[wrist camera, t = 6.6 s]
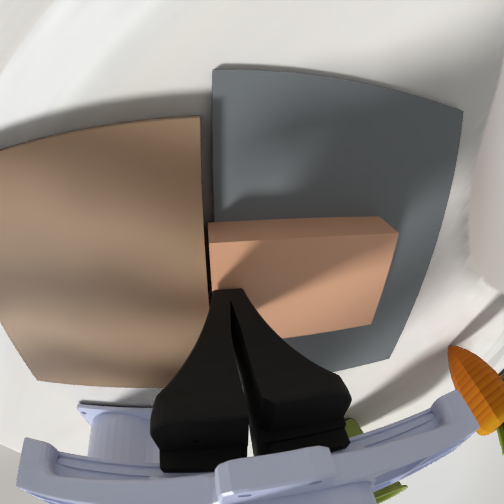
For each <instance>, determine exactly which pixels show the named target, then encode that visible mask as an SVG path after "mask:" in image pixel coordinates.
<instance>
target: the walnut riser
mask: <svg viewBox="0 0 504 504" xmlns="http://www.w3.org/2000/svg"><path fill="white" fill-rule="evenodd" d="M208 312H209V296H208V284H207V270H206V255H205V239H204V221H203V200H202V173H201V130H200V115H198V116H181V117H168V118H156V119H147V120H138V121H130V122H122V123H115V124H108V125H102V126H96V127H91V128H85V129H80V130H75V131H70V132H65V133H60V134H56V135H52V136H47V137H43V138H39V139H35V140H32V141H28V142H24V143H21V144H17V145H14V146H10V147H7V148H4V149H1V150H0V322H1V324H2V326H3V327H4V329H5V331H6V333H7V334H8V336H9V338H10V340H11V341H12V343H13V345H14V346H15V348H16V349H17V351H18V353H19V354H20V356H21V357H22V359H23V360H24V362H25V363H26V365H27V366H28V368H29V369H30V371H31V372H32V373H33V375H34V376H35V378H36V379H37V380H38V381H45V382H53V383H62V384H73V385H85V386H100V387H124V388H165V387H166V386H167V385H168V383H169V382H170V381H171V380H172V379H173V377H174V376H175V375H176V373H177V372H178V371H179V370H180V368H181V367H182V365H183V364H184V363H185V361H186V359H187V358H188V356H189V355H190V353H191V351H192V349H193V348H194V346H195V344H196V342H197V340H198V338H199V336H200V333H201V331H202V329H203V326H204V324H205V321H206V318H207V315H208Z"/></svg>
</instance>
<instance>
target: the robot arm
mask: <svg viewBox="0 0 504 504" xmlns="http://www.w3.org/2000/svg"><path fill="white" fill-rule="evenodd" d="M237 366H238V367H237ZM238 369H239V371H238ZM239 373H240V376H239ZM240 377H241V380H240ZM241 381H242V384H241ZM242 385H243V388H242ZM243 390H244V392H243ZM351 401H352V399H351V395H350V393H349V391H348V389H347V387H346V385H345V384H344V382H343V381H342V379H341V377H340V376H339V375H337V374H335V373H333V372H331V371H329V370H327V369H325V368H322V367H321V366H319V365H317V364H315V363H314V362H312V361H310V360H309V359H307V358H306V357H305V356H303V355H302V354H300V353H299V352H298V351H296V350H295V349H294V348H292V347H291V346H290V345H289V344H288V343H286V342H285V341H284V340H283V339H282V338H281V337H280V336H279V335H278V334H277V333H276V332H275V331H274V330H273V329H272V328H271V327H270V326H269V325H268V324H267V322H266V321H265V320H264V319H263V318H262V316H261V315H260V314H259V313H258V311H257V310H256V309H255V307H254V306H253V304H252V303H251V301H250V300H249V298H248V297H247V295H246V293H245V291H244V290H243V289H242V288H236V289H222V290H214V291H213V292H212V299H211V304H210V308H209V312H208V315H207V318H206V321H205V324H204V326H203V329H202V331H201V333H200V336H199V338H198V340H197V342H196V344H195V346H194V348H193V349H192V351H191V353H190V355H189V356H188V358H187V359H186V361H185V363H184V364H183V365H182V367H181V368H180V370H179V371H178V372H177V373H176V375H175V376H174V377H173V379H172V380H171V381H170V382H169V383H168V385H167V386H166V387H165V388H164V389H163V390H162V391H161V392H160V393H159V394H158V395H157V397H156V399H155V402H154V405H153V408H131V407H110V406H96V405H84V404H78V405H77V410H78V411H79V412H80V413H81V415H82V416H83V417H84V418H85V420H86V421H87V422H88V423H89V424H90V426H91V433H90V440H89V448H88V456H80V455H75V454H69V453H64V452H59V451H58V450H57V449H56V448H55V447H54V446H52V445H51V444H49V443H46V442H43V441H39V440H35V439H31V438H27V437H26V438H25V439H24V443H23V448H22V453H21V458H20V463H19V469H18V475H17V482H16V486H17V487H18V488H20V489H22V490H23V491H25V492H27V493H29V494H31V495H33V496H34V497H36V498H38V499H40V500H42V501H44V502H46V503H48V504H377V502H376V499H375V497H374V494H373V492H375V491H377V490H379V489H382V488H384V487H386V486H388V485H391V484H393V483H395V482H397V481H399V480H401V479H403V478H405V477H407V476H409V475H411V474H413V473H415V472H417V471H419V470H421V469H422V468H424V467H426V466H428V465H429V464H432V463H433V462H435V461H437V460H439V459H440V458H442V457H444V456H445V455H447V454H449V453H451V452H452V451H454V450H455V449H456V448H457V447H458V446H460V445H461V444H462V443H463V442H464V441H466V440H467V439H468V438H469V437H470V436H471V435H472V434H473V433H475V432H476V431H477V430H478V429H479V428H480V425H479V424H478V422H477V420H476V418H475V417H474V415H473V413H472V412H471V410H470V409H469V407H468V405H467V404H466V402H465V400H464V399H463V397H462V396H461V394H460V393H459V391H458V390H457V389H456V390H454V391H452V392H450V393H448V394H445V395H443V396H441V397H440V398H438V399H437V400H436V401H435V402H434V403H433V405H432V406H431V408H429V409H427V410H425V411H422V412H420V413H418V414H415V415H413V416H410V417H408V418H405V419H403V420H400V421H398V422H395V423H392V424H390V425H387V426H384V427H381V428H379V429H376V430H373V431H370V432H367V433H363V434H360V435H357V436H354V437H350V438H349V437H348V435H347V432H346V430H345V427H346V421H345V419H344V415H345V413H346V411H347V409H348V408H349V406H350V404H351ZM249 428H250V435H251V441H252V448H253V454H254V457H247V446H248V431H249Z"/></svg>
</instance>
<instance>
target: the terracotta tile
mask: <svg viewBox="0 0 504 504" xmlns="http://www.w3.org/2000/svg"><path fill="white" fill-rule="evenodd" d="M398 235H399V233H398V232H397V231H396V230H395V229H394V228H392V227H391V226H390V225H389V224H388V223H387V222H385V221H384V220H383V219H382V218H381V217H379V216H368V217H324V218H294V219H269V220H248V221H229V222H211V223H208V239H209V256H210V271H211V285H212V292H213V291H214V290H222V289H236V288H242V289H243V290H244V291H245V293H246V295H247V297H248V298H249V300H250V301H251V303H252V304H253V306H254V307H255V309H256V310H257V311H258V313H259V314H260V315H261V316H262V318H263V319H264V320H265V321H266V322H267V324H268V325H269V326H270V327H271V328H272V329H273V330H274V331H275V332H276V333H277V334H278V335H279V336H280V337H281V338H289V337H296V336H303V335H310V334H317V333H323V332H330V331H336V330H341V329H347V328H353V327H358V326H364V325H369V324H371V323H372V320H373V317H374V315H375V312H376V309H377V306H378V303H379V300H380V297H381V294H382V291H383V288H384V285H385V281H386V278H387V275H388V271H389V268H390V265H391V261H392V258H393V254H394V250H395V247H396V243H397V239H398Z"/></svg>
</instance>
